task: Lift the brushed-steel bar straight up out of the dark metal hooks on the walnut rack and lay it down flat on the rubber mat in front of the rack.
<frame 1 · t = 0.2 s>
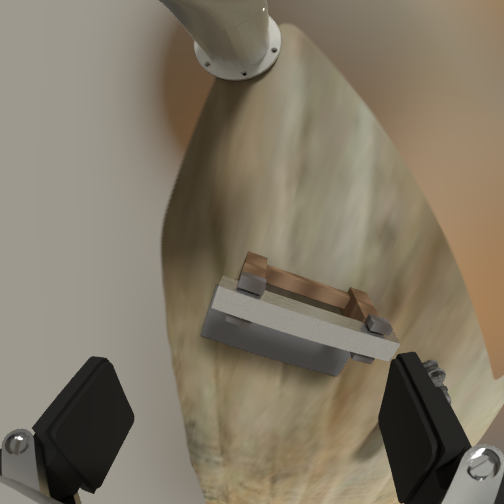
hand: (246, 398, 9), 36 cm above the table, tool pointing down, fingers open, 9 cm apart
mat: (282, 335, 50), on the table
rail: (311, 316, 37), point 10 cm above the table, touching rack
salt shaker: (426, 369, 50), on the table
rack: (305, 284, 47), on the table
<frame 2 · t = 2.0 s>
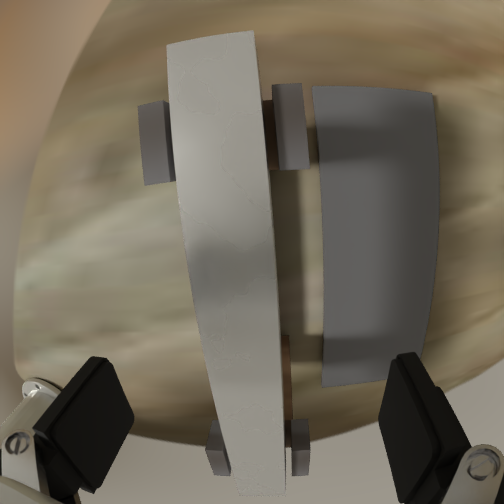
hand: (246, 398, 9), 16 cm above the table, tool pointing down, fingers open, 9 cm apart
mat: (382, 251, 23), on the table
rail: (248, 324, 14), point 10 cm above the table, touching rack
rack: (259, 260, 24), on the table
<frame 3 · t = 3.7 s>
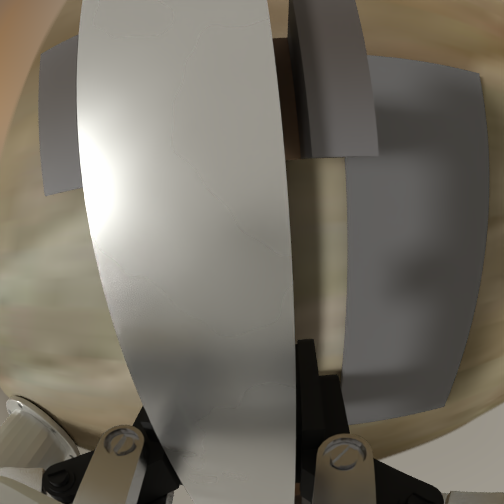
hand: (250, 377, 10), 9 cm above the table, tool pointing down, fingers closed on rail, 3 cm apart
mat: (420, 270, 17), on the table
rail: (246, 402, 9), point 10 cm above the table, touching gripper, rack
rack: (264, 281, 18), on the table
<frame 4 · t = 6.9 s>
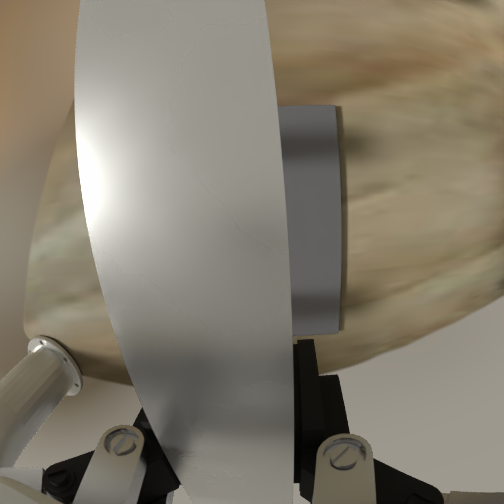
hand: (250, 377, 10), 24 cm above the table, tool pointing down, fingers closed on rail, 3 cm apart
mat: (294, 228, 32), on the table
rail: (245, 401, 9), point 25 cm above the table, touching gripper
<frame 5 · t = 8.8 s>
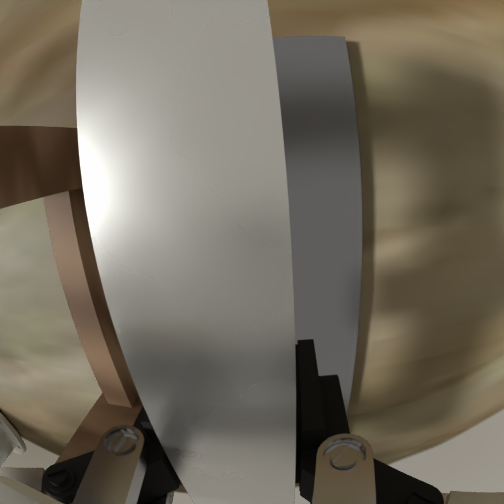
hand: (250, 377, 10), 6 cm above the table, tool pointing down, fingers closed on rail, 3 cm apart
mat: (263, 299, 16), on the table
rail: (246, 401, 9), point 7 cm above the table, touching gripper
rack: (100, 301, 17), on the table
when the fingers open (1 cm above the table, at t = 10.2 s): rail drops 2 cm, resting on mat.
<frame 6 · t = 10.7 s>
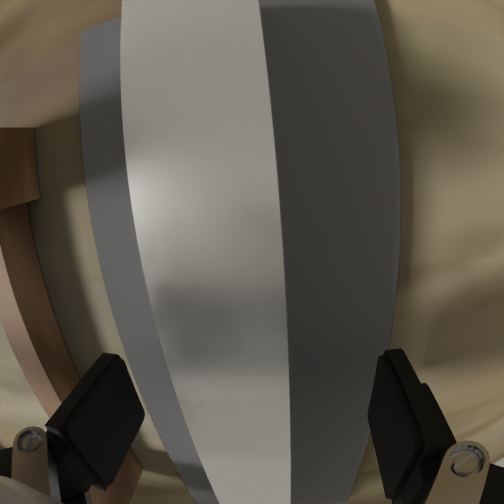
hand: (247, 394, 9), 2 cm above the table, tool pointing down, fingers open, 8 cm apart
mat: (253, 358, 11), on the table
rail: (248, 369, 10), point 1 cm above the table, touching mat
rack: (53, 344, 12), on the table
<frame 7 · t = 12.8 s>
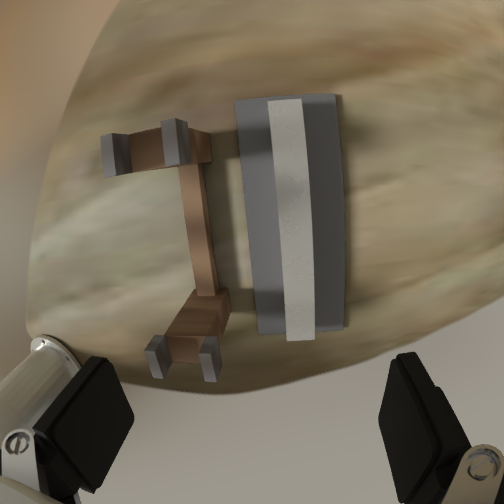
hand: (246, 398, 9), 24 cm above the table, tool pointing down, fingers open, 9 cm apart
mat: (296, 221, 31), on the table
rail: (294, 223, 31), point 1 cm above the table, touching mat
rack: (201, 228, 32), on the table
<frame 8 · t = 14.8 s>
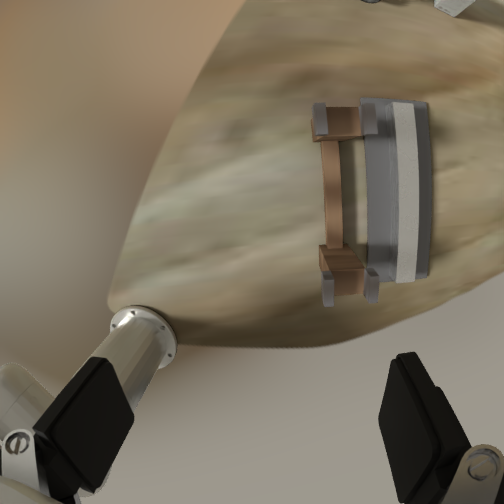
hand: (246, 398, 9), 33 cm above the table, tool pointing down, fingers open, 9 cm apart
mat: (400, 191, 38), on the table
rail: (400, 192, 37), point 1 cm above the table, touching mat
rack: (331, 193, 39), on the table
skincare box: (442, 0, 27), on the table
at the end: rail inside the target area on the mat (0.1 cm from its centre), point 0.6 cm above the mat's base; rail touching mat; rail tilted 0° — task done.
